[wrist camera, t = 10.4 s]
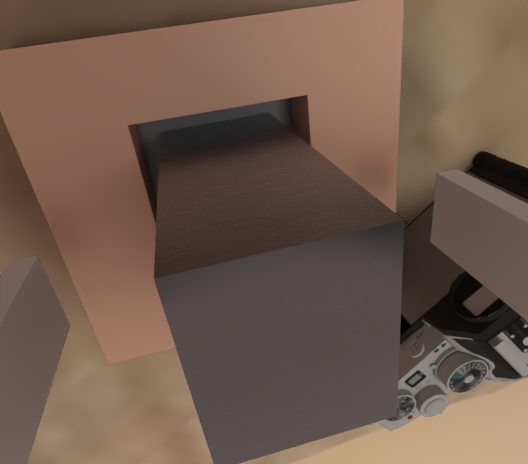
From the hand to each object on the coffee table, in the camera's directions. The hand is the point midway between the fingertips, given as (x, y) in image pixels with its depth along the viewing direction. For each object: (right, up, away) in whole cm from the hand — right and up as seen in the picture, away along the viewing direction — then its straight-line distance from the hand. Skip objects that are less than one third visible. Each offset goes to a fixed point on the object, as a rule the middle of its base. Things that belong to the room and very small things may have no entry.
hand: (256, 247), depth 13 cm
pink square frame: (-2, +3, +7) cm, 8 cm away
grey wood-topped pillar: (-2, +3, +6) cm, 7 cm away
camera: (+10, -2, +13) cm, 16 cm away
